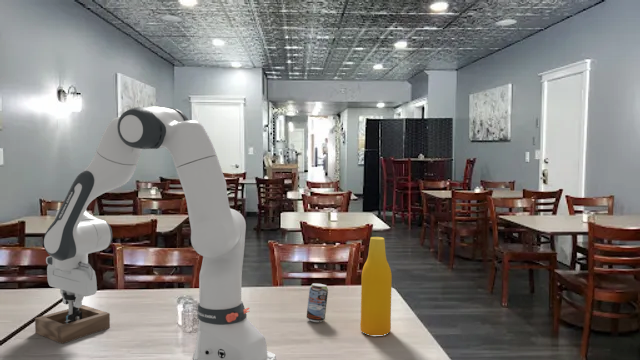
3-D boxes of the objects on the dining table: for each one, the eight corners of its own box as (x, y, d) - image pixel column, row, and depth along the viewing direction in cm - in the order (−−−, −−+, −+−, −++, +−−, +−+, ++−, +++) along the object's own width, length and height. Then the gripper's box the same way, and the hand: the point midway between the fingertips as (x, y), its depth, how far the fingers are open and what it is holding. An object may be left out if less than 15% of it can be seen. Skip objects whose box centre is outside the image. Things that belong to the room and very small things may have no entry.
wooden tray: (109, 327, 150) (109, 313, 150) (61, 343, 138) (61, 328, 137) (83, 318, 158) (82, 304, 158) (35, 333, 145) (35, 318, 145)
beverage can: (303, 322, 157) (303, 285, 156) (313, 315, 164) (314, 280, 163) (320, 325, 154) (320, 288, 153) (330, 318, 161) (331, 282, 160)
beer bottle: (355, 328, 153) (356, 236, 151) (381, 324, 156) (383, 234, 154) (368, 339, 144) (370, 241, 142) (396, 335, 147) (398, 239, 145)
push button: (73, 327, 144) (73, 294, 143) (56, 326, 144) (56, 293, 144) (87, 319, 150) (86, 287, 150) (71, 318, 151) (70, 286, 150)
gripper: (102, 262, 143) (102, 309, 144) (62, 253, 154) (63, 296, 155) (81, 267, 138) (82, 315, 139) (42, 257, 149) (43, 302, 150)
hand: (72, 305), depth 147 cm, fingers closed on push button, 4 cm apart
